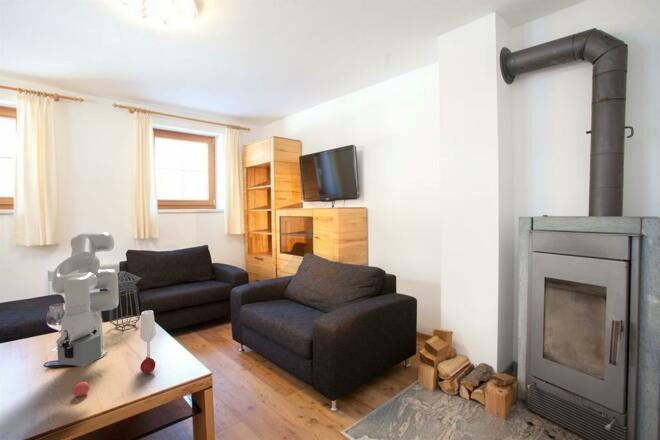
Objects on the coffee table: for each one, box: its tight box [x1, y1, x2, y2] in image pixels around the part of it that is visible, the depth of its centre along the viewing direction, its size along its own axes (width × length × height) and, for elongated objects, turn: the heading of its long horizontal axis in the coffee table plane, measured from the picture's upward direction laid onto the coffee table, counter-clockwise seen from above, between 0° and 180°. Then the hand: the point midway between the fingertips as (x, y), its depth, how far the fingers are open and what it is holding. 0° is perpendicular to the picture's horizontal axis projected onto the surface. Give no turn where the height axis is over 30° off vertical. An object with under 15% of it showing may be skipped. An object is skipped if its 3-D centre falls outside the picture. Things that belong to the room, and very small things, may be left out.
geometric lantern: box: [109, 270, 143, 332], centre depth 194 cm, size 16×16×35 cm
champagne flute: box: [139, 310, 158, 364], centre depth 151 cm, size 7×7×24 cm
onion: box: [139, 356, 156, 375], centre depth 140 cm, size 6×6×8 cm
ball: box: [72, 381, 90, 397], centre depth 124 cm, size 5×5×5 cm
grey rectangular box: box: [56, 334, 102, 367], centre depth 124 cm, size 11×8×9 cm
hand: (79, 352), depth 124 cm, fingers closed on grey rectangular box, 7 cm apart
